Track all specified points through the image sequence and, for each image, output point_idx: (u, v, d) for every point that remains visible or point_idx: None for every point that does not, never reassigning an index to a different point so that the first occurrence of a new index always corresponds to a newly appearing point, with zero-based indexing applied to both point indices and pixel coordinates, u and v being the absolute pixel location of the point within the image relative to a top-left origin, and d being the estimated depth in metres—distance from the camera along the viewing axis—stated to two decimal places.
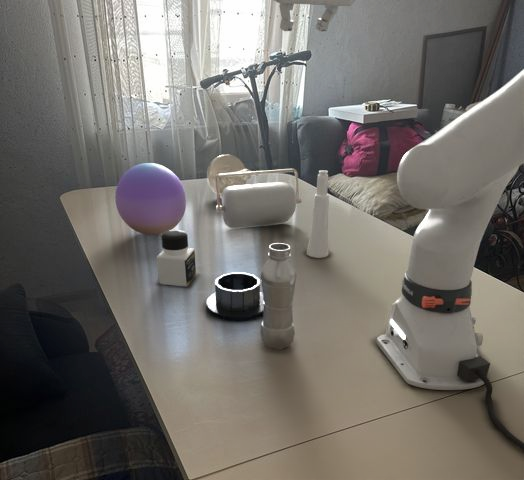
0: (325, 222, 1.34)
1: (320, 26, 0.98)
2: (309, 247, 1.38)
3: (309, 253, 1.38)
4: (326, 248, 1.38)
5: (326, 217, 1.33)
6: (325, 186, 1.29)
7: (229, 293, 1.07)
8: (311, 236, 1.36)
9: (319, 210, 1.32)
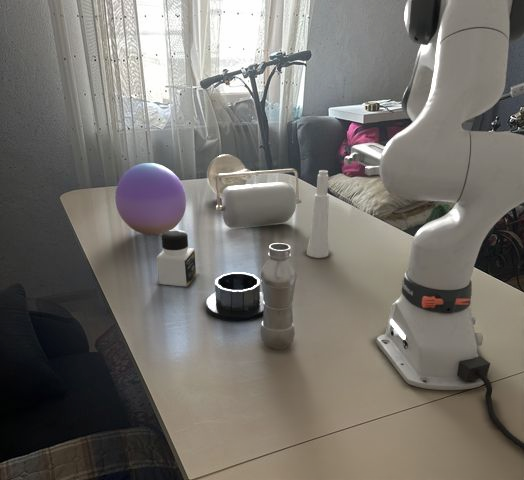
0: (325, 222, 1.34)
1: None
2: (309, 247, 1.38)
3: (309, 253, 1.38)
4: (326, 248, 1.38)
5: (326, 217, 1.33)
6: (325, 186, 1.29)
7: (229, 293, 1.07)
8: (311, 236, 1.36)
9: (319, 210, 1.32)
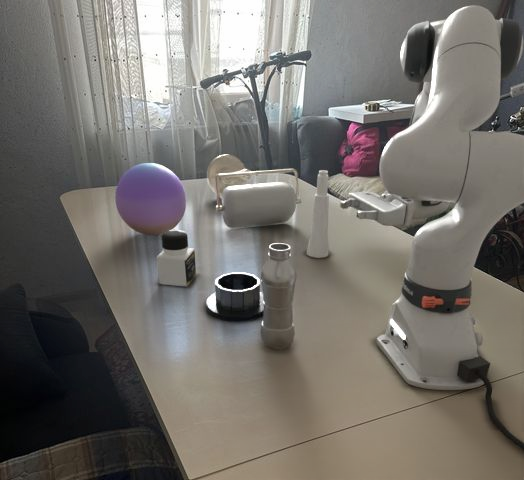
0: (325, 222, 1.34)
1: None
2: (309, 247, 1.38)
3: (309, 253, 1.38)
4: (326, 248, 1.38)
5: (326, 217, 1.33)
6: (325, 186, 1.29)
7: (229, 293, 1.07)
8: (311, 236, 1.36)
9: (319, 210, 1.32)
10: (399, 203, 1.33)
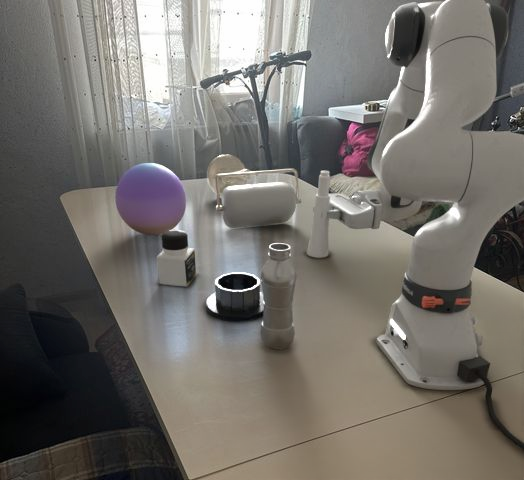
0: (326, 222, 1.33)
1: None
2: (309, 247, 1.38)
3: (309, 253, 1.38)
4: (326, 248, 1.38)
5: None
6: (326, 187, 1.29)
7: (229, 293, 1.07)
8: (311, 236, 1.36)
9: (320, 211, 1.31)
10: (367, 206, 1.31)
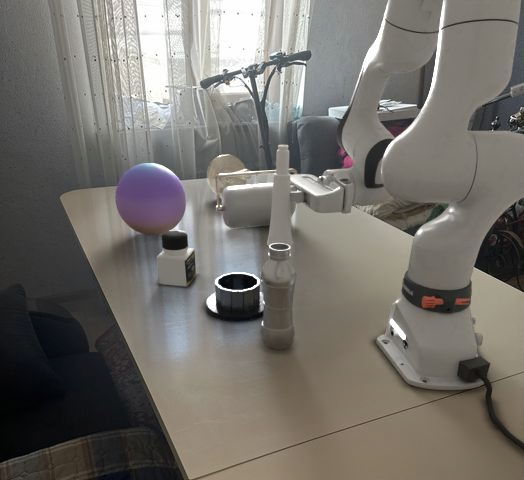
0: (282, 207, 1.14)
1: None
2: None
3: (267, 241, 1.20)
4: (285, 239, 1.17)
5: (284, 201, 1.13)
6: (282, 163, 1.09)
7: (229, 293, 1.07)
8: (270, 222, 1.17)
9: (275, 192, 1.12)
10: (336, 186, 1.11)
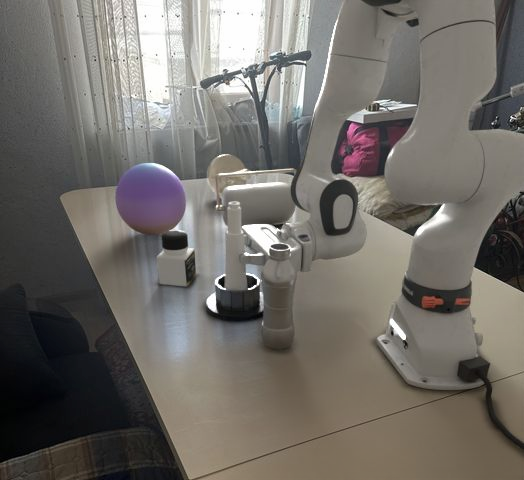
0: (236, 266, 1.06)
1: None
2: None
3: None
4: None
5: (237, 261, 1.05)
6: (234, 222, 1.01)
7: (229, 293, 1.07)
8: None
9: (228, 251, 1.04)
10: (294, 243, 1.03)
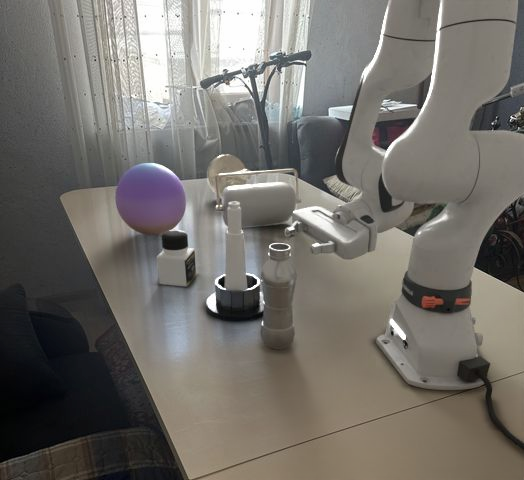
0: (236, 266, 1.06)
1: None
2: None
3: None
4: None
5: (237, 261, 1.05)
6: (234, 222, 1.01)
7: (229, 293, 1.07)
8: None
9: (228, 251, 1.04)
10: (359, 226, 1.06)
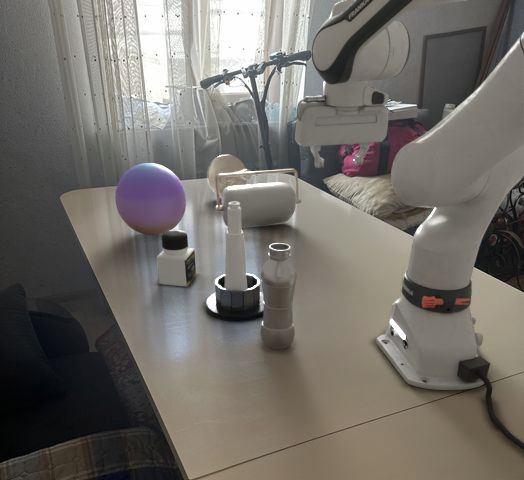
0: (236, 266, 1.06)
1: (355, 161, 1.12)
2: None
3: None
4: None
5: (237, 261, 1.05)
6: (234, 222, 1.01)
7: (229, 293, 1.07)
8: None
9: (228, 251, 1.04)
10: (376, 110, 1.05)
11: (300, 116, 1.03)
